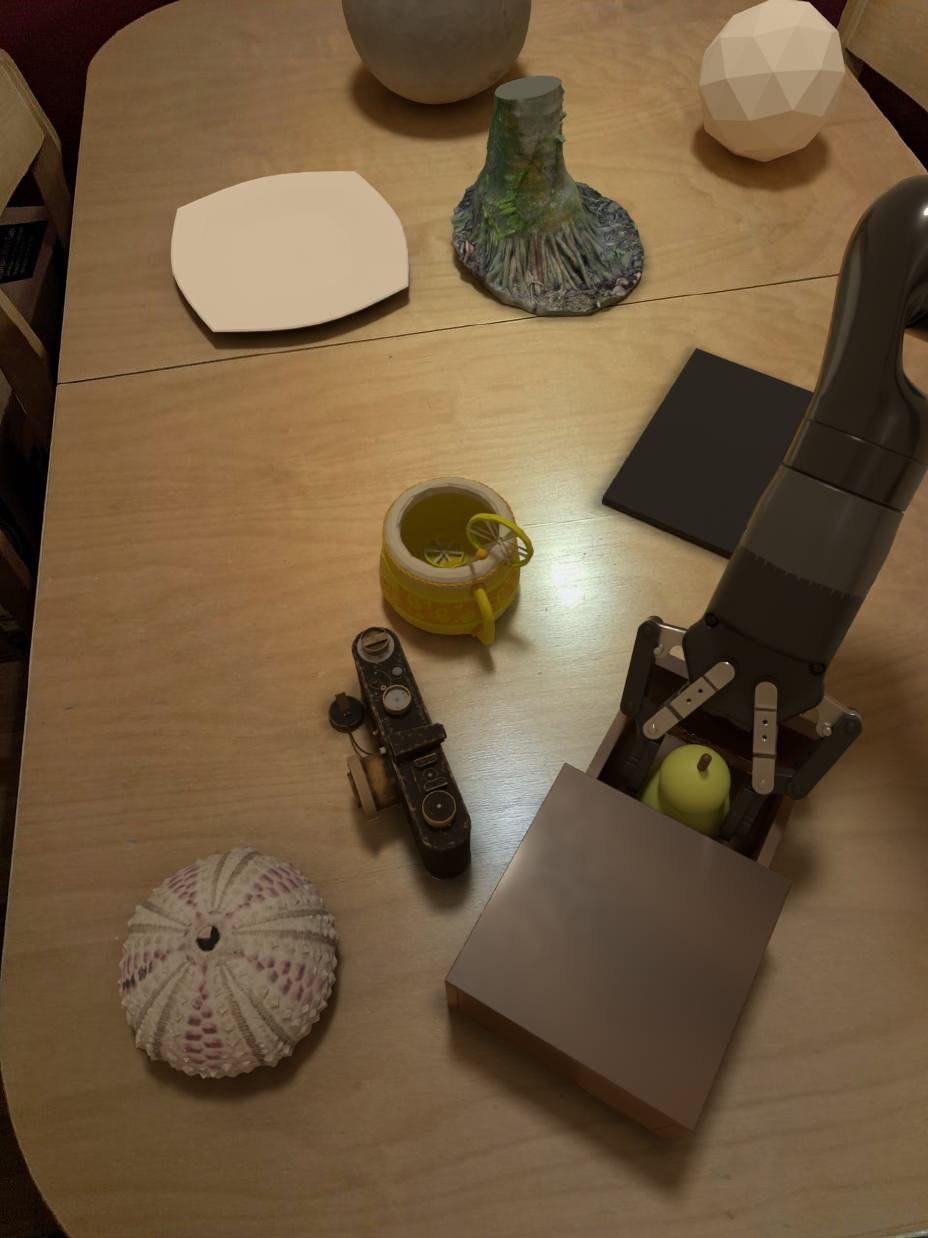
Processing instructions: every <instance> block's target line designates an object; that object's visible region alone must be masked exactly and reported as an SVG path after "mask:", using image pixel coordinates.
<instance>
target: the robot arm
mask: <svg viewBox="0 0 928 1238" xmlns="http://www.w3.org/2000/svg"><path fill="white" fill-rule="evenodd" d="M828 327H829V328H828V332H827V337H826V342H825V346H824V350H823V354H822V360H821V363H820V367H819V371H818V375H817V380H816V384H815V387H814V391H813V392H814V393H813V396H812V399H811V401H810V404H809V406H808V408H807V410H806V412H805V414H804V416H803V419H802V420H801V422H800V424H799V426H798V429H797V431H796V433H795V435H794V437H793V439H792V441H791V443H790V445H789V447H788V449H787V451H786V454H785V456H784V458H783V460H782V463H784V465H783V464H781V465H780V466H779V468H778V470H777V472H776V473H775V475H774V477H773V478H772V480H771V481H770V483H769V484H768V486H767V487H766V489H765V490H764V492H763V493H762V495H761V497H760V498H759V500H758V502H757V504H756V506H755V508H754V510H753V512H752V514H751V516H750V518H749V520H748V521H747V523H746V524H745V527H744V531H743V533H742V535H741V537H740V539H739V541H738V543H737V545H736V548H735V550H734V552H733V554H732V556H731V558H729V560H728V562H727V565H726V567H725V569H724V571H723V573H722V575H721V577H720V579H719V581H718V583H717V586H716V587H715V590H714V591H713V593H712V596H711V598H710V600H709V602H708V604H707V606H706V609H705V611H704V612H703V614H702V615H701V617H700V618H699V619H698V620H697V621H696V622H694V623H693V624H692V625H690V626H689V627H688V628H687V627H683V626H679V625H678V626H677V625H674V624H671V623H666V622H664V619H662V618H661V617H660V616H658V615H650V616H648V617H647V618H646V619H645V620H644V621H642V623H641V624H639V626H638V628H637V631H636V635H635V640H634V644H633V648H632V652H631V656H630V660H629V665H628V669H627V673H626V677H625V683H624V687H623V691H622V694H621V699H620V704H619V710H621V712H622V713H623V714H624V715H626V716H628V717H631V718H632V719H633V720H634V721H635V722H636V724H637V725H638V727H639V736H638V739H637V741H636V743H635V745H634V747H633V749H632V751H631V753H630V756H629V758H628V760H627V762H626V764H625V766H624V768H623V778H625V779H627V780H629V781H630V782H629V784H628V786H627V788H626V789H627V790H629V791H631V792H633V793H635V794H637V792H638V790H639V789H640V787H641V785H642V783H643V781H644V779H645V777H646V775H647V773H648V771H649V768H650V766H651V764H652V762H653V760H654V758H655V756H656V754H657V752H658V750H659V748H660V746H661V744H662V742H663V740H664V738H665V736H666V735H665V734H664V733H665V732H666V733H668V731H669V730H670V729H672V728H673V727H674V726H675V724H676V723H678V722H679V721H680V720H682V719H684V718H685V717H686V716H688V715H689V714H690V713H691V712H692V711H694V710H695V709H696V708H697V707H699V706H701V708H700V709H701V710H703V711H705V712H707V713H709V714H711V715H715V716H720V717H725V718H727V719H728V720H730V721H731V722H732V723H733V724H734V725H736V726H737V727H738V728H740V729H742V730H745V731H747V732H749V733H750V732H751V731H754V737H753V764H752V773H751V777H748V776H746V778H745V780H744V782H743V784H742V786H741V788H740V790H739V792H738V794H737V796H736V798H735V799H734V801H733V803H732V805H731V807H730V809H729V811H728V813H727V815H726V817H725V819H724V821H723V823H722V825H721V827H720V830H719V834H718V837H719V838H721V839H723V840H725V841H727V842H729V841H730V840H731V838H732V836H733V835H735V836H737V837H739V838H742V837H743V836H744V835H745V834H747V833H748V831H749V829H750V827H751V825H752V823H753V821H754V819H755V818H756V816H757V814H758V812H759V810H760V808H761V806H762V805H763V803H764V801H765V799H766V798H767V797H768V796H770V795H772V794H781V795H788V796H789V797H790V798H792V799H794V800H797V801H802V800H804V799H805V798H807V796H808V795H809V794H810V793H811V792H812V791H813V789H814V788H815V787H816V786H817V785H818V784H819V783H820V781H821V780H822V779H823V778H824V777H825V776H826V775H827V773H828V772H830V770H831V769H832V768H833V766H835V764H836V763H837V762H838V761H839V760H840V759H841V757H842V756H843V755H844V754H845V753H846V751H847V750H848V749H849V748H851V746H852V745H853V744H854V742H855V741H856V740H857V739H858V738H859V737H860V735H861V734H862V733H863V719H862V716H861V715H862V714H861V712H860V711H859V710H858V709H857V708H856V707H854V706H845V705H844V704H842V703H841V702H839V701H838V700H836V698H834V697H832V696H831V695H829V694H828V693H827V692H826V691H825V690H826V689H825V688H826V684H825V680H826V679H825V678H826V674H827V671H828V670H829V668H830V666H831V664H832V662H833V660H834V658H835V656H836V654H837V652H838V651H839V649H840V647H841V645H842V643H843V642H844V639H845V637H846V635H847V633H848V632H849V630H850V628H851V626H852V624H853V622H854V621H855V619H856V617H857V615H858V613H859V611H860V610H861V607H862V605H863V604H864V602H865V599H866V598H867V595H868V594H869V592H870V591H871V589H872V586H873V584H874V583H876V580H877V578H878V575H879V574H880V571H881V570H882V568H883V566H884V564H885V562H886V561H887V558H888V556H889V554H890V553H891V549H892V546H893V544H894V542H895V538H896V535H897V533H898V530H899V527H900V525H901V522H902V520H903V519H904V516H905V514H904V512H906V511H907V509H908V508H909V506H910V504H911V502H912V500H913V498H914V496H915V495H916V492H917V490H918V489H919V488H920V485H921V483H922V481H923V479H924V477H925V475H926V474H927V472H928V394H927V393H926V392H925V391H923V390H922V389H921V388H920V387H918V386H917V385H916V384H915V383H914V382H913V381H912V380H911V379H910V378H909V377H908V375H907V374H906V371H905V370H904V359H903V357H904V340H905V335H907V336H910V337H911V338H912V337H913V338H914V339H917V340H920V341H922V342H924V343H926V344H928V174H918V175H912V176H910V177H907V178H904V179H902V180H900V181H898V182H896V183H894V184H893V185H890V186H889V187H888V188H886V190H884V191H883V192H882V193H881V194H880V195H879V196H877V197H876V198H875V199H874V200H873V201H872V202H871V204H870V205H869V206H868V207H867V208H866V209H865V211H864V212H863V213H862V215H861V216H860V217H859V219H858V221H857V222H856V224H855V226H854V228H853V230H852V232H851V233H850V236H849V238H848V240H847V243H846V246H845V249H844V252H843V255H842V259H841V263H840V267H839V272H838V276H837V282H836V287H835V293H834V299H833V305H832V311H831V317H830V321H829V326H828ZM677 646H679V647H681V648H682V653H683V658H684V661H685V663H686V668H687V672H688V677H689V681H688V682H687V683H685V684H684V685H683V686H682V687H681V688H679V689H678V690H677V691H676V692H675V693H674V694H673V695H672V696H671V697H670V698H669V699H667V700H666V701H665V702H664V703H663V704H661V705H660V706H659V707H658V708H657V707H656V706H655V705H654V704H653V703H652V702H651V701H650V700H649V699H648V698H647V696H648V692H649V688H650V683H651V679H652V675H653V671H654V667H655V663H656V659H663V658H665V657H666V656H667V655H668V654H670V652H671V650H672V649H673V648H674V647H677ZM814 709H815V711H817V713H818V718H817V719H816V722H815V723H816V731H817V733H818V735H819V737H818V738H817V739H816V740H815V741H814V743H813V744H812V745H811V746H810V747H809V748H808V750H807V751H806V752H805V753H804V754H803V755H802V757H801V758H800V759H799V760H798V761H797V763H796V764H795V765H794V766H793V767H792V768H785V767H778V766H776V755H777V739H778V725H779V724H781V723H783V722H786V721H788V720H790V719H792V718H794V717H796V716H799V715H800V716H802V715H803V714H805V713H807V712H810V711H812V710H814Z"/></svg>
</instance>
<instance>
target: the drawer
mask: <svg viewBox="0 0 928 1238" xmlns="http://www.w3.org/2000/svg"><path fill="white" fill-rule="evenodd" d="M688 681H689V677H688V672H687V668H686V663H685V659H684V660H683V659H681V658H680V657H677V656H676V655H673V654H671V653H669V654H668V655H667V656H666V657H665V658H663V659H656V663H655V667H654V671H653V675H652V679H651V683H650V688H649V692H648V696H647V698H648V699H649V700H650V701H651V702H652V703H653V704H654V705H655V706H656V707H657V708H658V707H659V706H660V705H661V704H663V703H664V702H665V701H666V700H667V699H669V698H670V697H671V696H672V695H673V694H674V693H675V692H676V691H677V690H678V689H679V688H681V687H682V686H683V685H684V684H685V683H687V682H688ZM700 708H701V706H699V707H697V708H696V709H695V710H694V711H692V712H691V713H690V714H689V715H688V716H686V717H685V718H684V719H682V720H680V721H679V722H678V723H676V724H675V725H674V726H676V727H677V728H680V729H681V730H683V731H686V732H688V733H690V734H691V735H694V736H696V737H697V738H699V739H702V740H703V741H706V742H708V743H710V744H712V745H714V746H716V747H718V748H720V749H722V750H724V751H726V752H728V753H730V754H733V755H734V756H736V757H739V758H740V759H742V760H743V761H746V762H748V763H750V764H752V765H753V737H754V731H751V732H750V733H749V732H747V731H745V730H742V729H740V728H738V727H737V726H736V725H734V724H733V723H732V722H731V721H730V720H728V719H727V718H725V717H720V716H715V715H711V714H709V713H707V712H705V711H703V710H701V709H700ZM664 734H665V735H666V736H665V738H664V740H663V742H662V744H661V746H660V748H659V750H658V752H657V754H656V756H655V758H654V760H653V762H652V764H651V765H653V764H654V763H655V762H657V761H658V760H660V759H662V758H665V757H667V756H668V755H669V754H670V753H671V752H672V751H674V750H675V749H677V748H679V747H682V746H685V745H692V744H690V743H688V742H687V741H684V740H682V739H681V738H679V737H676V736H674V735H672V734H671V733H668V732H665V733H664ZM638 736H639V727H638V725H637V724H636V722H635V721H634V720H633V719H632V718H631V717H628V716H626V715H624V714H623V713H622V712H621V710H620V709H619V710H618V712H617V714H616V715H615V717H614V718H613V721H612V723H611V725H610V726H609V728H608V730H607V731H606V734H605V736H604V738H603V739H602V741H601V743H600V745H599V747H598V749H597V751H596V753H594V754H595V755H594V756H593V758H592V760H591V762H590V764H589V766H588V768H586V769H587V770H586V771H585V773H586V774H588V775H590V776H592V777H594V778H596V779H598V780H600V781H602V782H604V783H606V784H607V785H609V786H611V787H613V788H615V789H617V790H619V791H621V792H623V793H625V794H627V795H629V796H630V797H632V798H634V799H636V794H635V793H633V792H631V791H629V790H627V789H626V788H627V786H628V784H629V782H630V781H629V780H627V779H625V778H623V768H624V766H625V764H626V762H627V760H628V758H629V756H630V753H631V751H632V749H633V747H634V745H635V743H636V741H637V739H638ZM818 737H819V735H818V733H817V731H816V722H815V721H813V720H811V719H809V718H806V717H804V716H802V715H799V716H796V717H794V718H792V719H790V720H788V721H786V722H783V723H781V724H779V725H778V739H777V755H776V766H778V767H785V768H792V767H793V766H794V765H795V764H796V763H797V761H798V760H799V759H800V758H801V757H802V755H803V754H804V753H805V752H806V751H807V750H808V748H809V747H810V746H811V745H812V744H813V743H814V741H815V740H816V739H817V738H818ZM725 763H726V765H727V766H728V769H729V772H730V777H731V785H730V791H729V798H730V807H731V805H732V803H733V801H734V799H735V798H736V796H737V794H738V792H739V790H740V788H741V786H742V784H743V782H744V780H745V778H746V776H748V777H751V775H752V773H750V772H747V771H745V770H743V769H740V768H739V767H736V766H735V765H733V764H731V763H729V762H726V761H725ZM797 802H798V800H794V799H792V798H790V797H789V796H788V795H781V794H772V795H770V796H768V797H767V798H766V799H765V801H764V803H763V805H762V806H761V808H760V810H759V812H758V814H757V816H756V818H755V819H754V821H753V823H752V825H751V827H750V829H749V831H748V833H747V834H745V835H744V836H743V837H742V838H739V837H737V836H735V835H733V836H732V838H731V840H730V841H729V842H727V841H725V840H723V839H721V838H719V837H718V834H719V833H718V834H717V835H716V836H715V837H714V838H712V839H713V840H715V841H717V842H719V843H721V844H723V845H725V846H726V847H728V848H730V849H732V850H734V851H736V852H738V853H740V854H742V855H744V856H746V857H748V858H749V859H751V860H753V861H755V862H757V863H759V864H761V865H763V866H765V867H767V868H769V869H770V867H771V864H772V862H773V860H774V857H775V855H776V853H777V850H778V847H779V846H780V842H781V840H782V838H783V836H784V833H785V830H786V828H787V826H788V823H789V821H790V818H791V816H792V815H793V811H794V808H795V806H796V804H797ZM729 809H730V808H729Z"/></svg>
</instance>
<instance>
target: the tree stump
mask: <svg viewBox="0 0 928 1238" xmlns="http://www.w3.org/2000/svg"><path fill="white" fill-rule="evenodd" d="M562 83H563V81H562V78H559V77H557V76H554V75H532V76H526V77H521V78H517V79H514V80H511V81H508V82H505V83H503V84H500V85H499V86H498V87H497V88H496V89H495V91H494V96H493V97H494V99H493V107H492V110H491V117H490V118H489V120H490V121H489V122H490V123H489V126H488V135H487V141H486V154H485V155H486V156H485V160H484V161H485V162H484V164H483V165H484V166H483V167H482V169H481V170H480V172H479V174H478V175H477V178H476V179H475V181H474V183H473V184H471V185H469V186H468V187H467V188H466V189H465V191H464V194H463V196H462V199H461V200H460V201H459V202H458V204H457V206H456V207H454V208H453V209H452V212H453V215H452V217H450V222H451V225H452V227H453V231H452V233H451V239H452V240H453V241H452V245H453V247H454V250H456V252H457V253H458V255H459V259H458V261H460V262H461V264H462V265H463V266H464V267H466V268H467V270H468V271H470V273H471V274H472V275H473V276H474V278H475V279H476V281H477V282H478V283H479V284H480V285H481V286H482V287H483V288H485V289H486V290H487V291H488V292H489V293H491V294H492V296H494V297H495V298H497V300H499V301H500V302H501V303H502V304H506V305H509V306H512V307H517V308H521V309H522V310H524V311H526V312H528V313H531V314H535V315H537V316H539V317H549V316H550V317H560V316H562V317H563V316H565V317H566V316H588V315H591V314H594V313H595V312H597V311H600V310H602V309H604V308H606V307H608V306H611V305H613V304H615V303H618V302H620V301H621V300H623V299H624V298H625V297H626V296H627V295H628V294H629V293H630V292H631V291H632V290H633V289H634V288H635V287H636V285H637V283H638V281H639V280H640V278H641V275H642V273H643V268H644V262H645V250H644V246H643V243H642V241H641V237H640V233H639V229H638V228H637V226H636V223H635V221H634V219H632V218H631V215H630V214H629V212H628V210H627V209H625V208H624V207H622V205H621V204H620V203H619V202H617V201H616V200H613V199H611V198H609V197H606V196H603V195H602V194H601V193H600V192H599V191H598V190H597V189H594V188H593V187H591V186H590V185H589V184H587V183H584V182H579V181H575V180H574V178H573V177H572V175H571V174H570V173H569V171H568V170H567V167H566V160H565V157H564V143H565V142H567V139H566V137H565V134H563V125H564V122H563V120H564V119H565V118H566V117H567V116H568V115H567V112H566V111H565V110H563V109H564V106H563V102H564V101H565V98H564V94H565V89H564V88H563V86H562Z"/></svg>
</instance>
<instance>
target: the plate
mask: <svg viewBox="0 0 928 1238" xmlns="http://www.w3.org/2000/svg"><path fill="white" fill-rule="evenodd" d="M172 229H173V230H172V234H171V239H170V240H171V241H170V262H171V264H170V265H171V271H172V272H171V273H172V275H173V277H174V278H175V281H176V283H177V285H178V288H179V289H180V291H181V292H182V294H183V296H184V298H185V299H186V301H187V302H188V304H189V305H190V306H191V307H192V309H193V310H194V311H195V312H196V314H197V315H198V316H199V317H200V319H201V320H202V321H203V322H204V323H205V324H206V326H207V327H208V328H209V329H210V330H211V331H212V332H213V333H214V334H238V333H239V334H242V333H246V334H247V333H270V332H271V333H273V332H282V331H283V332H284V331H292V330H301V329H305V328H311V327H316V326H320V325H324V324H327V323H331V322H334V321H337V320H341V319H343V318H346V317H348V316H351V315H353V314H356V313H358V312H361V311H364V310H366V309H369V308H370V307H373V306H374V305H376V304H378V303H380V302H382V301H384V300H387V299H388V298H390V297H392V296H394V295H396V294H398V293H400V292H402V291H404V290H407V289H408V288H409V275H410V267H409V250H408V243H407V237H406V232H405V230H404V226H403V223H402V221H401V219H400V218H399V215H398V214H397V213H396V212H395V209H393V207H392V206H391V205H390V204H389V202H387V199H385V198H384V196H382V195H381V193H379V192H378V191H377V189H375V188H374V187H373V186H372V184H370V183H369V182H368V181H367V180H366V179H364V178H363V176H361V175H360V174H359V173H358V172H356V171H355V170H339V171H337V170H336V171H332V170H331V171H330V170H329V171H304V172H303V171H302V172H291V173H290V172H289V173H280V174H275V175H274V174H273V175H268V176H262V177H259V178H255V179H250V180H246V181H243V182H240V183H237V184H235V185H232V186H229V187H226V188H222V189H219V190H218V191H215V192H213V193H211V194H208V195H205V196H203V197H201V198H199V199H196V200H193V201H191V202H189V203H187V204H185V205H182V206H179V207H178V208H177V209H176V214H175V217H174V222H173V228H172Z"/></svg>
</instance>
